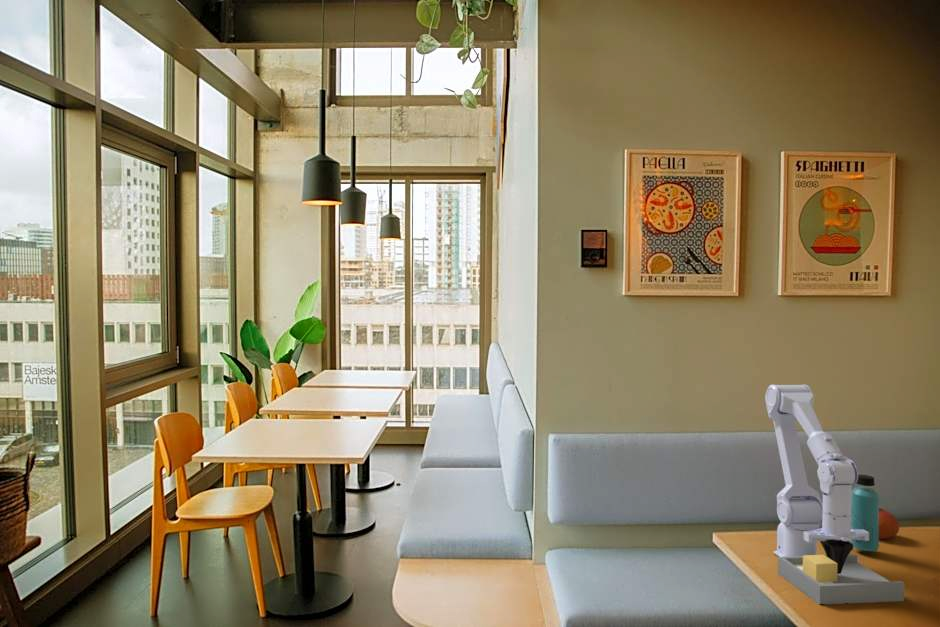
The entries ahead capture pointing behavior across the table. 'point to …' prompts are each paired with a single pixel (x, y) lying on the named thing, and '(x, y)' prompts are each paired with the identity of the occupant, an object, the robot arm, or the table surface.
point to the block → (820, 568)
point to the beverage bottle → (865, 513)
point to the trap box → (842, 583)
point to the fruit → (887, 525)
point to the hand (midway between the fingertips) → (835, 571)
